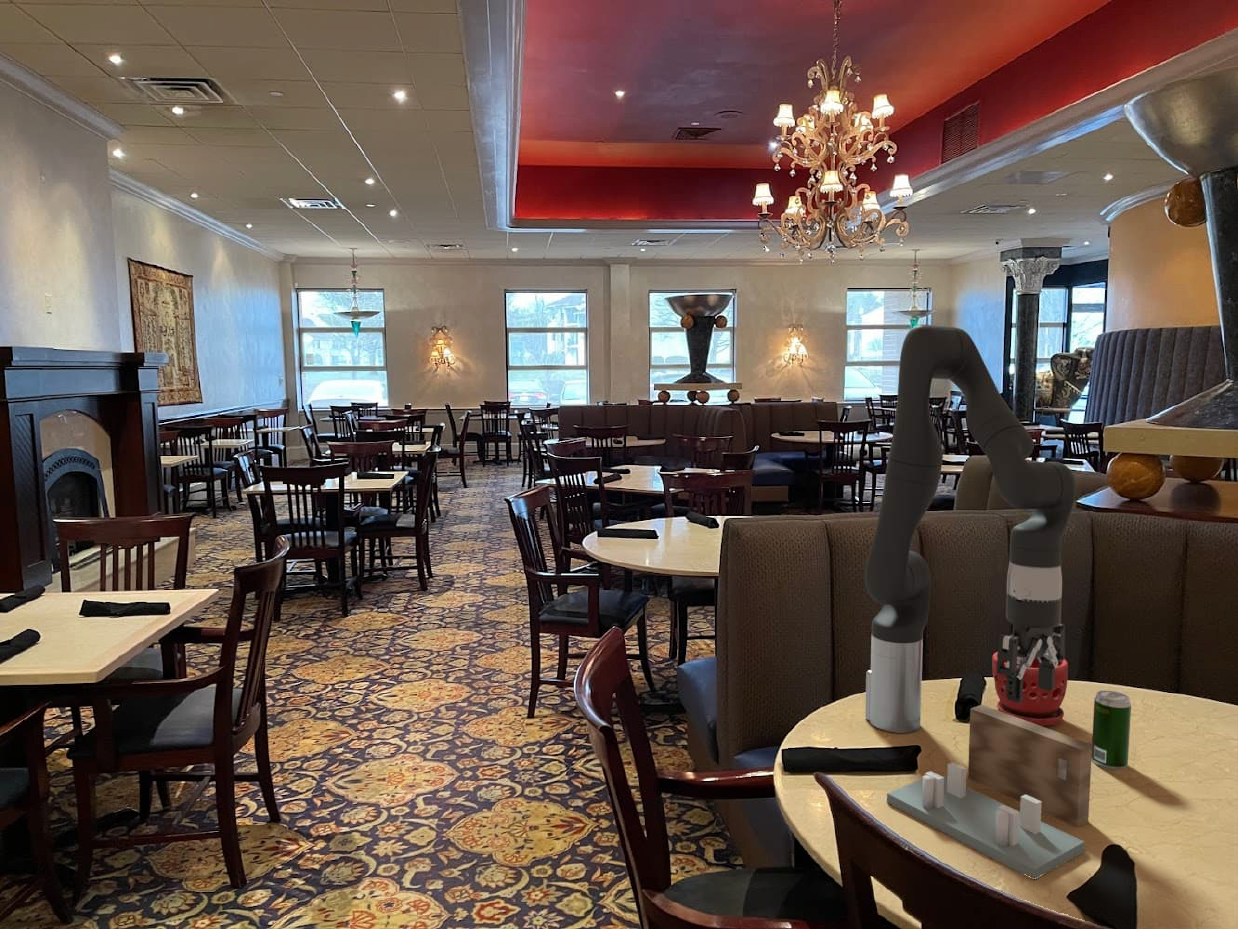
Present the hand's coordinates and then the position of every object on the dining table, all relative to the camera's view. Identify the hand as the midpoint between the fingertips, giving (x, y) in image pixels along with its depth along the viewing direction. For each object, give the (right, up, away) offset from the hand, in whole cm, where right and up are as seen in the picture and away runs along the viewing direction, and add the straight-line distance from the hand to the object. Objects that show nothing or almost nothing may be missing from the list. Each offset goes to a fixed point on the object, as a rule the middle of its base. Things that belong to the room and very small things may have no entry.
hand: (1030, 694), depth 128 cm
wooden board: (0, -17, +2) cm, 17 cm away
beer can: (+20, -16, +13) cm, 29 cm away
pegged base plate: (-10, -18, -6) cm, 21 cm away
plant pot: (+16, -14, +33) cm, 39 cm away
